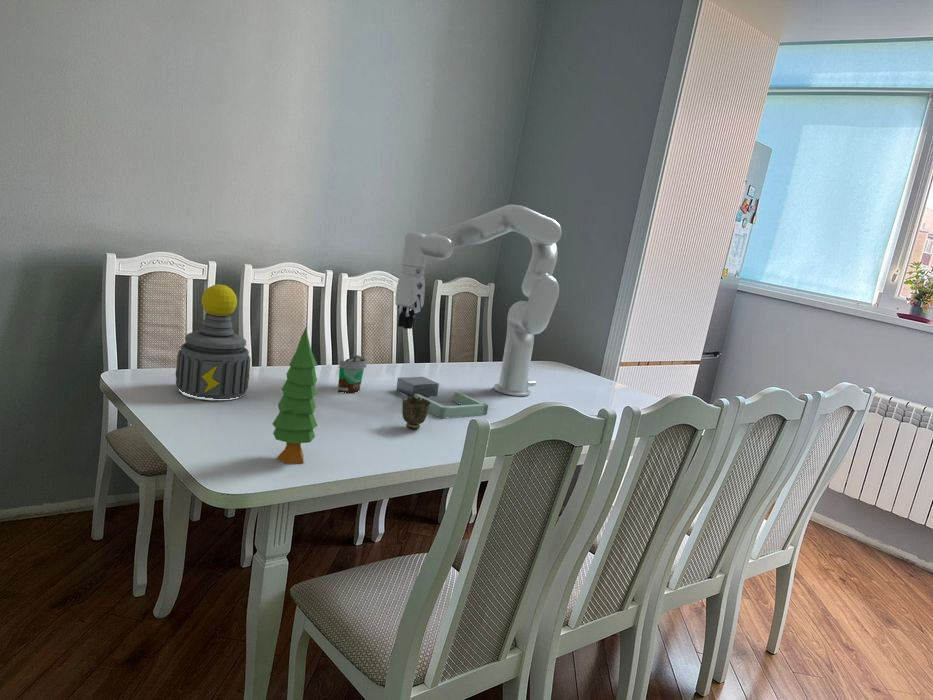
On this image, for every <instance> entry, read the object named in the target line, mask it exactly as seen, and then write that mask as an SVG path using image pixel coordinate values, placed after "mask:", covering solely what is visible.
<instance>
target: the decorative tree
mask: <svg viewBox="0 0 933 700" xmlns="http://www.w3.org/2000/svg"><path fill="white" fill-rule="evenodd" d="M288 365H289V369H288V370H287V372H286V380H285V382H284V384H283V386H282V387H281V389H280V390H281V391H282V395H283V396H282V397H281V398H280V400H279V401H278V404H277V407H278V410H279V411H278V414H277V416H276V417H275V419H274V421H273V423H272V426H274V428H275V429H274V431H273V432H272V434H273V436H274V437H273V438H274V439H275V440H277V441H280V442H285V443H286V446H285V448H284V449H283V450H282V451H281V453H279V455H277V457H278V458H277V460H279V459H280V460H279V462H281V461H283V462H282V463H284V462H286V463H285V464H287V463H290V464H289V465H292V464H291V463H293V465H294V464H295V465H296V464H297V465H301V464H303V465H304V464H305V461H304V453H303V449H302V445H301V444H308V443H312V442H313V440H314V438H316V435H315V431H314V429H315V428H316V427H318V423H317V420H316V417H315V415H314V413H315V410H316V408H317V406H316V403H315V400H314V397H316V396H317V389H316V383H317V381H318V377H317V373H316V369H315V367H317V366H318V363H317V361H316V359H315V356H314V353H313V351H312V347H311V343H310V339H309V335H308V330H307V327H305V328H304V330H303V332H302V335H301V336H300V340H299V342H298V344H297V347H296V351H295V352H294V354H293V356H292V358H291V360H290V362H289V364H288Z"/></svg>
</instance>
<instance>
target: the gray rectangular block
mask: <svg viewBox="0 0 933 700" xmlns="http://www.w3.org/2000/svg"><path fill="white" fill-rule="evenodd" d="M396 383H397V384H396V390H397V392H398V391H399V392H398V393H400V392H401V394H403V395H405V396H407V397H408V396H409V397H410V398H411V397H412V396H414V395H415V394H420V395H422V396H424V397H426V398H431V397H430V396H435V397H438V393H439V386H440V383H438V382H436V381H434V380H432V379H429V378H427V377H424V376H407V377H397V382H396Z"/></svg>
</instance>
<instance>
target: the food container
mask: <svg viewBox="0 0 933 700" xmlns="http://www.w3.org/2000/svg"><path fill="white" fill-rule="evenodd" d="M367 367H368V366H367V360H366V358H365V357H363V356H360V355H357V354H353V355H352V357H351V358H347V359H346V360H340V362H339V365H338V368H339V373H338V384H337V385H338V386H337V387H338V388H337V393H340V392H344V393H343V394H356V393H355V392H358V391H359V392H360V391H361V386H362V381H363V375H364V371H365V369H366V368H367ZM345 392H346V393H345ZM359 392H358V393H359Z"/></svg>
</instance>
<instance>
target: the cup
mask: <svg viewBox="0 0 933 700" xmlns="http://www.w3.org/2000/svg"><path fill="white" fill-rule="evenodd" d="M401 399H402V405H401V406H402V409H401V411H402V412H401V413H402V414H401V415H402V418H403V420H404V421H405V422H406V424H405V426H406V428H407V429H409V430H412V431H417V430H420V427H421V426H420V425H421V424H423V423H424V422H425V421H426V418H427V416H428V413H429V411H428V410H429V406H430V402H429V401H428V402H427V399H425V400H424V398H423V399H422V400H421V401H420V397H419V398H418V399H417V398H415V397H414V396H412V397H409V396H407V397H406V399H405V397H402V398H401Z"/></svg>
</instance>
